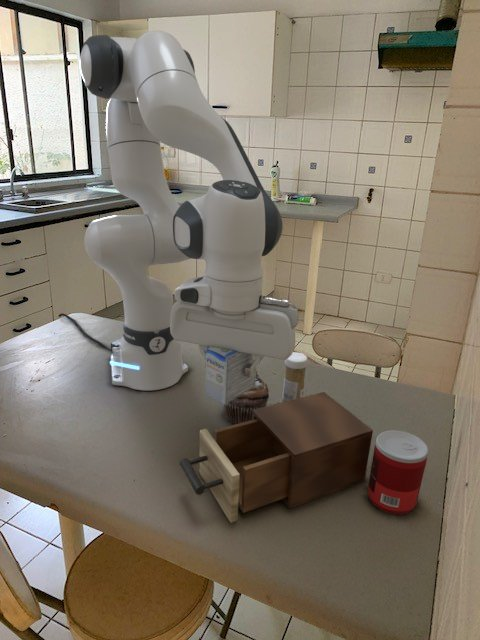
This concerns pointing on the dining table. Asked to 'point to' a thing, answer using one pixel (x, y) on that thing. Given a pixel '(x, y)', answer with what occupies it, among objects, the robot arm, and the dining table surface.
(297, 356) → the sprinkles bottle
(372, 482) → the canned food
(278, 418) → the cabinet
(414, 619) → the dining table surface
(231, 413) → the cupcake
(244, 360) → the medicine box
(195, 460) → the drawer
